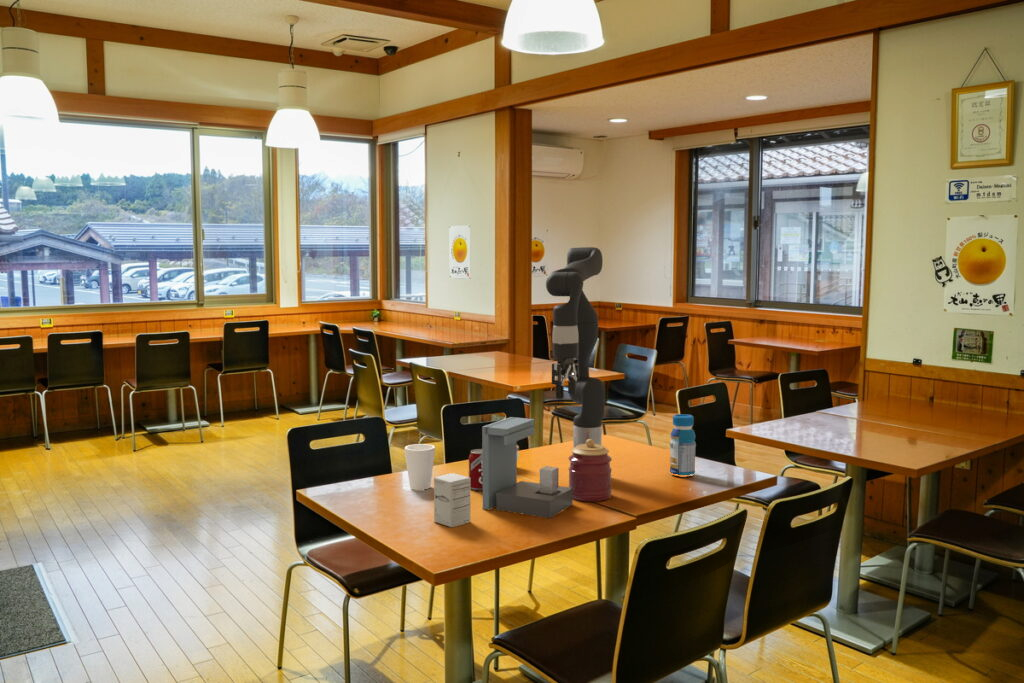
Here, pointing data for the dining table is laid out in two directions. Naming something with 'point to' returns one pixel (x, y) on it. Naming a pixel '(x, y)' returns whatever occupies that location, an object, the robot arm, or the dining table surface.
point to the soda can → (476, 469)
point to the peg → (549, 480)
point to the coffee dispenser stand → (501, 455)
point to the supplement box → (452, 499)
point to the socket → (533, 500)
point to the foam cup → (420, 465)
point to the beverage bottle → (682, 445)
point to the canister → (590, 472)
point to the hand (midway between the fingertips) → (566, 396)
